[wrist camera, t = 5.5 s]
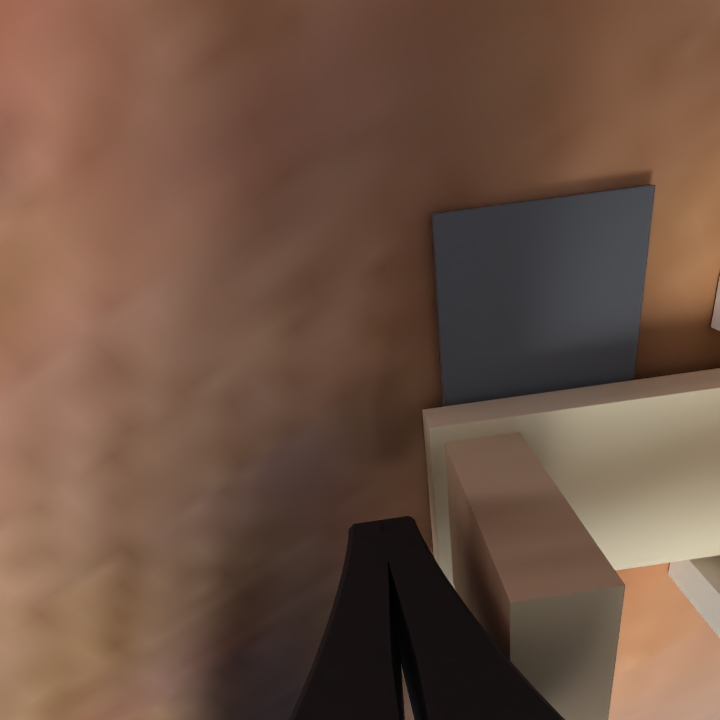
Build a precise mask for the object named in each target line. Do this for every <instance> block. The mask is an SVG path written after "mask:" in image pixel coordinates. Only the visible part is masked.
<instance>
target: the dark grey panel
mask: <svg viewBox="0 0 720 720" xmlns="http://www.w3.org/2000/svg"><path fill="white" fill-rule="evenodd" d="M654 192H655V185H642V186H635V187H627V188H620V189H612V190H605V191H597V192H590V193H582V194H575V195H567V196H560V197H552V198H545V199H537V200H530V201H522V202H515V203H507V204H500V205H492V206H485V207H477V208H470V209H462V210H455V211H447V212H440V213H432V214H431V217H432V233H433V250H434V266H435V283H436V300H437V316H438V333H439V349H440V366H441V382H442V399H443V407H445V406H452V405H459V404H466V403H473V402H481V401H488V400H495V399H502V398H509V397H516V396H524V395H531V394H538V393H545V392H552V391H559V390H567V389H574V388H581V387H588V386H595V385H602V384H609V383H617V382H624V381H631V380H634V372H635V363H636V354H637V345H638V336H639V327H640V318H641V309H642V300H643V291H644V282H645V273H646V264H647V255H648V246H649V237H650V228H651V219H652V210H653V201H654Z"/></svg>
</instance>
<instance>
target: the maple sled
mask: <svg viewBox="0 0 720 720" xmlns="http://www.w3.org/2000/svg"><path fill="white" fill-rule="evenodd" d="M422 413H423V426H424V439H425V451H426V464H427V476H428V489H429V501H430V514H431V526H432V539H433V551H434V558H435V560H436V562H437V563H438V565H439V567H440V568H441V570H442V571H443V573H444V574H445V576H446V577H447V579H448V580H449V582H450V583H451V585H452V586H453V587H454V589H455V590H456V592H457V593H458V595H459V596H460V597H461V599H462V600H463V602H464V603H465V604H466V606H467V607H468V609H469V610H470V611H471V613H472V614H473V615H474V617H475V618H476V619H477V620H478V622H479V623H480V624H481V626H482V627H483V628H484V629H485V631H486V632H487V633H488V634H489V636H490V637H491V638H492V639H493V641H494V642H495V643H496V644H497V645H498V647H499V648H500V649H501V650H502V652H503V653H504V654H505V655H506V656H507V657H508V659H509V660H510V661H511V662H512V663H513V664H514V665H515V667H516V668H517V669H518V670H519V671H520V672H521V673H522V674H523V675H524V677H525V678H526V679H527V680H528V681H529V682H530V683H531V684H532V686H533V687H534V688H535V689H536V690H537V691H538V692H539V693H540V694H541V695H542V696H543V697H544V698H545V699H546V700H547V701H548V702H549V703H550V704H551V706H552V707H553V708H554V709H555V710H556V711H557V712H558V713H559V714H560V715H561V716H562V717H563V718H564V719H565V720H608V717H609V709H610V701H611V693H612V685H613V677H614V670H615V662H616V654H617V646H618V638H619V630H620V622H621V615H622V607H623V599H624V591H625V584H624V583H623V581H622V580H621V579H620V577H619V576H618V574H617V573H616V571H615V570H621V569H628V568H635V567H642V566H649V565H656V564H663V563H669V562H676V561H683V560H690V559H697V558H704V557H711V556H718V555H720V368H717V369H710V370H703V371H695V372H688V373H681V374H674V375H667V376H660V377H652V378H645V379H638V380H631V381H624V382H617V383H609V384H602V385H595V386H588V387H581V388H574V389H567V390H559V391H552V392H545V393H538V394H531V395H524V396H516V397H509V398H502V399H495V400H488V401H481V402H473V403H466V404H459V405H452V406H445V407H438V408H430V409H423V410H422Z"/></svg>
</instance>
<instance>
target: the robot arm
mask: <svg viewBox="0 0 720 720" xmlns="http://www.w3.org/2000/svg"><path fill="white" fill-rule="evenodd" d="M401 664H402V668H403V673H404V677H405V681H406V685H407V690H408V694H409V698H410V702H411V706H412V711H413V715H414V719H415V720H565V719H564V718H563V717H562V716H561V715H560V714H559V713H558V712H557V711H556V710H555V709H554V708H553V707H552V706H551V704H550V703H549V702H548V701H547V700H546V699H545V698H544V697H543V696H542V695H541V694H540V693H539V692H538V691H537V690H536V689H535V688H534V687H533V686H532V684H531V683H530V682H529V681H528V680H527V679H526V678H525V677H524V675H523V674H522V673H521V672H520V671H519V670H518V669H517V668H516V667H515V665H514V664H513V663H512V662H511V661H510V660H509V659H508V657H507V656H506V655H505V654H504V653H503V652H502V650H501V649H500V648H499V647H498V645H497V644H496V643H495V642H494V641H493V639H492V638H491V637H490V636H489V634H488V633H487V632H486V631H485V629H484V628H483V627H482V626H481V624H480V623H479V622H478V620H477V619H476V618H475V617H474V615H473V614H472V613H471V611H470V610H469V609H468V607H467V606H466V604H465V603H464V602H463V600H462V599H461V597H460V596H459V595H458V593H457V592H456V590H455V589H454V587H453V586H452V585H451V583H450V582H449V580H448V579H447V577H446V576H445V574H444V573H443V571H442V570H441V568H440V567H439V565H438V563H437V562H436V560H435V558H434V557H433V555H432V553H431V552H430V550H429V548H428V547H427V545H426V543H425V541H424V539H423V537H422V535H421V533H420V531H419V529H418V527H417V525H416V522H415V520H414V519H412V518H411V517H410V516H406V517H399V518H392V519H385V520H378V521H371V522H364V523H357V524H353V525H352V526H351V527H350V529H349V536H348V545H347V552H346V557H345V562H344V566H343V571H342V575H341V579H340V583H339V587H338V590H337V594H336V597H335V601H334V604H333V607H332V611H331V614H330V617H329V620H328V623H327V626H326V629H325V632H324V635H323V638H322V640H321V643H320V646H319V649H318V652H317V654H316V657H315V660H314V663H313V665H312V668H311V670H310V673H309V675H308V678H307V680H306V683H305V685H304V687H303V690H302V692H301V694H300V697H299V699H298V701H297V704H296V706H295V708H294V710H293V713H292V715H291V717H290V719H289V720H405V716H404V701H403V685H402V670H401Z"/></svg>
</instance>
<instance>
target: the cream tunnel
mask: <svg viewBox="0 0 720 720" xmlns="http://www.w3.org/2000/svg"><path fill="white" fill-rule="evenodd" d="M711 327H712V328H714V329H716V330H718V331H720V277H719V283H718V288H717V294H716V300H715V306H714V312H713V317H712V323H711ZM668 575H669V576H670V578H671V579H672V580H673V581H674V582H675V584H676V585H677V586H678V587H679V589H680V590H681V591H682V592H683V594H684V595H685V596H686V597H687V599H688V600H689V601H690V602H691V604H692V605H693V606H694V607H695V609H696V610H697V611H698V612H699V613H700V615H701V616H702V617H703V618H704V620H705V621H706V622H707V623H708V625H709V626H710V627H711V628H712V630H713V631H714V632H715V633H716V635H717V636H718V637H719V638H720V555H718V556H711V557H704V558H697V559H690V560H683V561H676V562H670V567H669V573H668Z"/></svg>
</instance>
